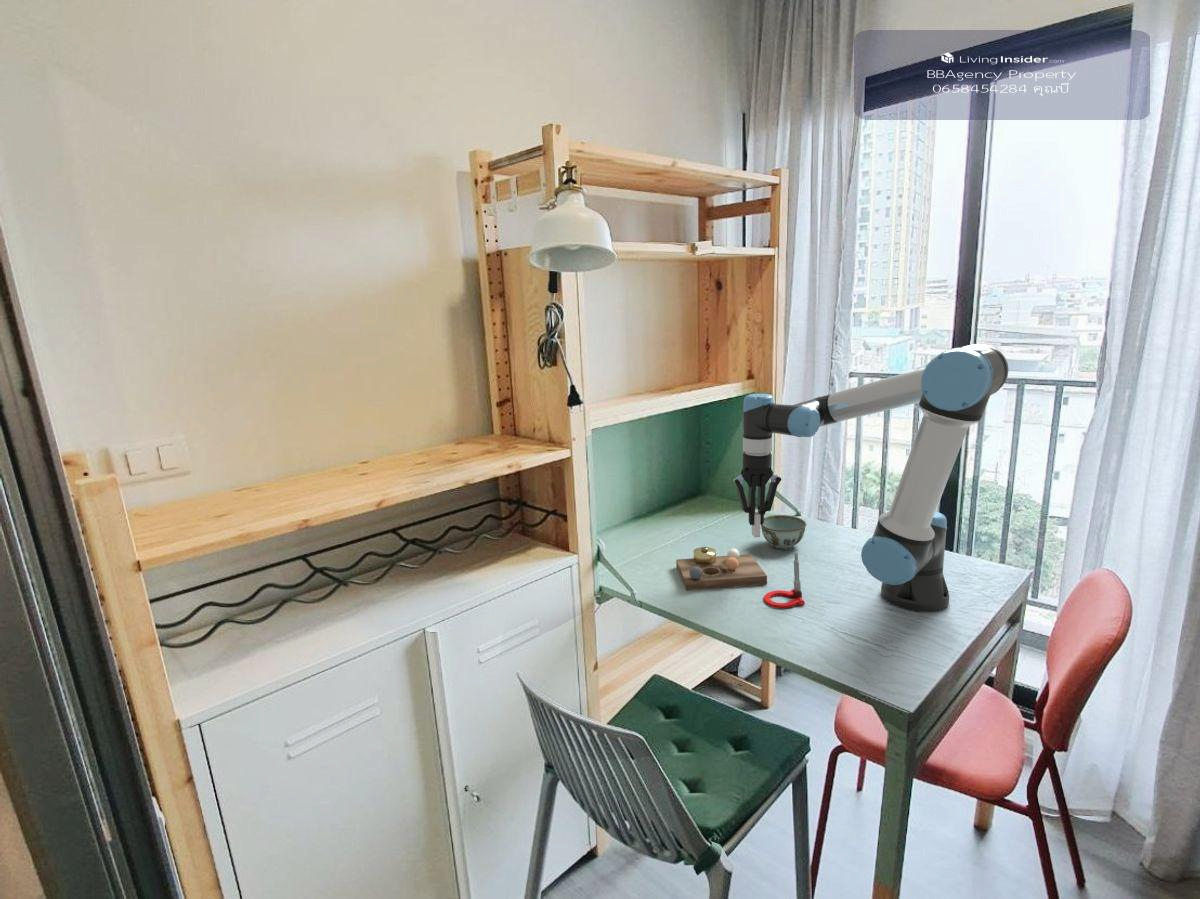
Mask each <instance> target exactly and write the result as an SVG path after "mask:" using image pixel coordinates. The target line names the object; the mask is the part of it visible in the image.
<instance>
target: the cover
mask: <svg viewBox="0 0 1200 899" xmlns="http://www.w3.org/2000/svg"><path fill="white" fill-rule="evenodd" d="M716 557H717V551H716V549H715V548H712V547H709V546H708V547H707V546H701V547H700V546H699V547H696V548H695V549H693V558H694V561H695V562H697V563H700V564H711V563H714V562H715V561H716Z"/></svg>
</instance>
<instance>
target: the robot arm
mask: <svg viewBox="0 0 1200 899" xmlns="http://www.w3.org/2000/svg"><path fill="white" fill-rule="evenodd" d="M1008 376H1009V363H1008V361H1007V359H1006V356H1005V355H1004V354H1003V353H1002V352H1001V351H1000V350H998V348H996V347H994V346H991V345H987V344H984V343H972V344H968V345H964V346H960V347H959V346H957V347H953V348H949V349H947V350H945V351H942V352H941V353H939V354H938V355H937V356H935V357H934V358H933V359H931V360H930V361H929V362H928V364H927V365H926V366H924V367H922V368H917V369H914V370H910V371H907V372H904V373H900V374H896V375H894V376H893V375H892V376H890V377H887V378H882V379H879V380H876V381H871V382H868V383H866V384H861V385H858V386H855V387H851V388H847V389H844V390H841V391H837V392H833V393H831V394H827V395H822V396H818V397H817V396H816V397H814V398H812V399H809V400H806V401H802V402H798V403H795V404H780V403H779V404H778V403H775V402H774V397H773V395H772V394H768V393H752V394H751V393H750V394H748V395H746V396H744V398H743V406H742V407H743V409H742V422H743V423H742V425H743V428H742V429H743V430H742V433H743V434H742V451H743V453H742V469H741V471H740V474H739V475H738V476H737V477H733V478H732V482H733V483H734V485H735V487H736V490H737V494H738V499H739V502H740V507H741V509H742V511H743V513H746V514H748V524H749V525H750V526H751V535H752V536H753V538H760V537H761V525H762V524H763V523H764V518H765V515H766V512H771V511H772V508H773V503H774V501H775V496H776V493H777V489H778V486H779V484H780V483H781V481H782V477H780V476H779V475H778V474H775V473H774V471H773V469H772V467H773V466H772V464H773V463H772V462H773V461H772V460H773V459H772V457H773V455H772V453H771V452H772V451H773V434H778V435H783V436H785V435H787V436H792V437H797V438H812V437H814V436H815V435H816V433H817V432H818V431H819V428H821V427H824V426H828V425H832V424H837V423H839V422H844V421H848V420H851V419H856V418H860V417H864V416H870V415H872V414H873V415H874V414H877V413H881V412H885V411H889V410H894V409H898V408H903V407H906V406H910V405H915V404H918V407H919V409H920V410H921V412H922V415H923V416H922V419H921V420H920V424H919V427H918V430H917V432H916V435H915V437H914V441H913V444H912V446H911V449H910V452H909V455H908V457H907V459H906V460H907V461H906V463H905V466H904V468H903V471H902V475H901V477H900V480H899V483H898V486H897V489H896V491H895V494H894V496H893V500H892V503H891V506H890V508H889V511H887V512H884V513H881V514H880V515H879V518H878V520H877V522H876V526H875V528H874V532H873V534H872V537H870V538H868V539H867V541H865V543H864V544H863V546H862V548H861V552H860V554H861V555H860V556H861V557H860V558H861V562H862V564H863V566H864V567H865V568H866V571H867V572H868V573H869V575H870V576H872V577H873V578H874V579H875V580H877V581H879V582H881V584H880V586H881V587H880V596H881V597H882V598H883V600H885V601H886V602H887V603H889V604H891V605H893V606H894V607H896V608H899V609H902V610H906V611H910V612H917V613H936V612H941V611H944V610H945V609H946V608H948V606H949V603H950V592H949V589H948V586H947V582H946V579H945V575H944V564H945V550H946V540H947V538H946V537H947V530H948V526H947V517H946V516H945V514H943V513H941V512H939V511H937V509H938V508H939V504H940V501H941V499H942V497H943V494H944V491H945V488H946V486H947V483H948V480H949V478H950V475H951V473H952V471H953V468H954V465H955V463H956V460H957V457H958V455H959V452H960V449H961V447H962V445H963V443H964V439H965V437H966V435H967V432H968V430H969V427H971V426H972V425H975V424H977V423H980V421H982V417H983V415H984V412H985V410H986V407H987V405H988V404H989V403H988V402H989V399H990V398H991V396H992V395H994V394H995V393H997V392H998V391H1000V389H1002V387H1003V386H1004V384H1005V383H1006V381H1007V378H1008ZM743 480H744V481H745V483H746V485H747V489H748V496H747V498H746V494H745V489H744V486H743V484H744V481H743ZM769 481H770V482H769ZM768 482H769V485H768V490H767V492H766V488H767V487H766V486H767V484H768ZM756 491H757V510H756ZM766 493H767V494H766ZM747 499H748V500H747Z"/></svg>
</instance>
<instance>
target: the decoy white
mask: <svg viewBox="0 0 1200 899" xmlns="http://www.w3.org/2000/svg"><path fill="white" fill-rule="evenodd" d="M740 555H741V553H740V551H739V550H738V549H736V548H735V547H734V548H730V549H728V551H727V555H726V556H728V558H730V557H734V558H736V559H737V560H738V558H739V556H740Z"/></svg>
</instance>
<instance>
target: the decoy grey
mask: <svg viewBox="0 0 1200 899" xmlns="http://www.w3.org/2000/svg"><path fill="white" fill-rule="evenodd" d="M689 574H690V576H691V578H693V579H699V578H701V576H702V570H701V568H700V567H698V566H694V567H692V568H691V569H690V571H689Z"/></svg>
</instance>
